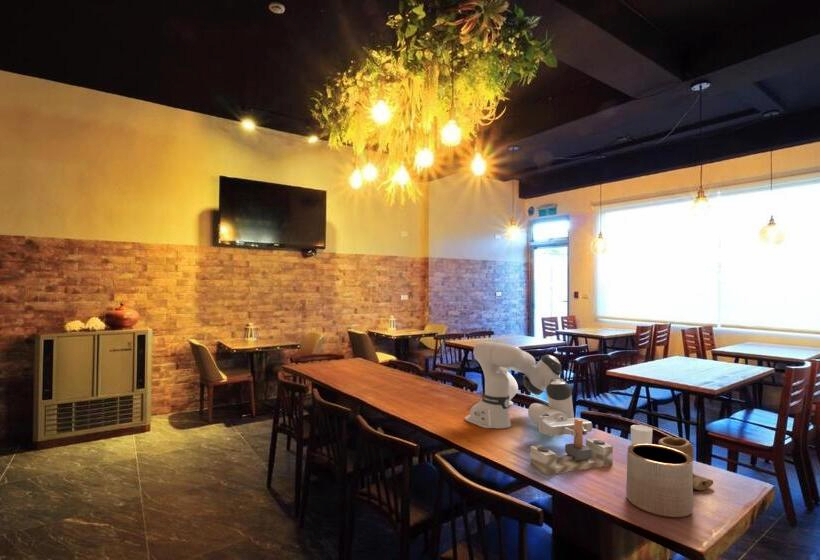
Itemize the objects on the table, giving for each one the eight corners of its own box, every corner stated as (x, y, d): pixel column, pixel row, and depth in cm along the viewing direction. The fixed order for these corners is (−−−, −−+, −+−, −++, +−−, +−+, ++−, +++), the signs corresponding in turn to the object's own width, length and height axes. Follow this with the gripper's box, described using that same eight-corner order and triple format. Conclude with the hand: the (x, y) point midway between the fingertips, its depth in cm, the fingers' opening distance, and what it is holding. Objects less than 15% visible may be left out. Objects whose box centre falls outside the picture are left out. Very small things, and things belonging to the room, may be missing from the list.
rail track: (545, 475, 153) (545, 454, 153) (530, 465, 161) (530, 445, 162) (612, 465, 163) (612, 445, 163) (594, 456, 172) (595, 437, 172)
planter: (676, 526, 122) (677, 470, 122) (614, 500, 136) (615, 450, 136) (702, 508, 132) (703, 456, 132) (643, 486, 146) (643, 439, 147)
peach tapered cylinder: (578, 462, 159) (578, 423, 159) (565, 455, 166) (565, 417, 166) (591, 460, 161) (591, 422, 161) (577, 453, 168) (578, 416, 168)
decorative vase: (518, 400, 254) (518, 357, 254) (517, 408, 237) (518, 362, 237) (487, 397, 259) (488, 355, 259) (484, 405, 242) (485, 360, 242)
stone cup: (650, 479, 151) (650, 436, 152) (666, 471, 158) (666, 430, 159) (698, 497, 139) (699, 450, 139) (714, 488, 146) (714, 443, 146)
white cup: (640, 457, 171) (641, 431, 172) (625, 449, 179) (626, 425, 179) (656, 455, 174) (657, 430, 174) (641, 448, 181) (641, 424, 181)
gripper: (577, 427, 179) (603, 439, 166) (535, 432, 172) (558, 444, 159) (577, 412, 179) (603, 422, 166) (535, 416, 172) (558, 427, 159)
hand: (580, 433), depth 162 cm, fingers closed on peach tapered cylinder, 3 cm apart
